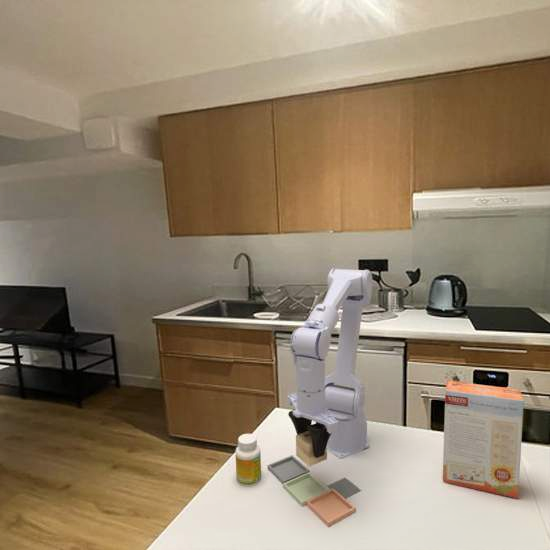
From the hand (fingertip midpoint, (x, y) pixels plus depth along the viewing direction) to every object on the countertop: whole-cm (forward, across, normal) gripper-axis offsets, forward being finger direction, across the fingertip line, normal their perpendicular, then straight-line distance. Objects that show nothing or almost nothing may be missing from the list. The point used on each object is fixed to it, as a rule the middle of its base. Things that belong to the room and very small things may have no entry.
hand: (311, 449), depth 82 cm
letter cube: (+2, 0, 0) cm, 2 cm away
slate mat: (+9, +3, +6) cm, 11 cm away
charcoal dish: (+9, -8, -1) cm, 12 cm away
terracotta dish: (+9, +6, 0) cm, 11 cm away
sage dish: (+9, -1, -1) cm, 9 cm away
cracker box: (+10, +17, +31) cm, 37 cm away
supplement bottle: (+10, -10, -9) cm, 17 cm away
